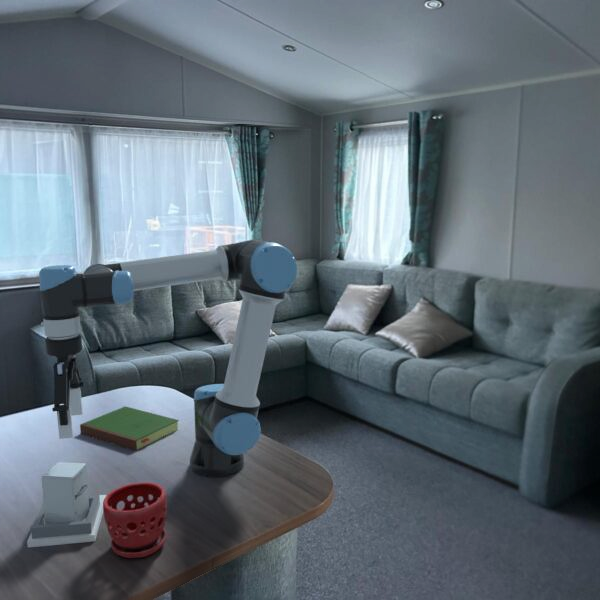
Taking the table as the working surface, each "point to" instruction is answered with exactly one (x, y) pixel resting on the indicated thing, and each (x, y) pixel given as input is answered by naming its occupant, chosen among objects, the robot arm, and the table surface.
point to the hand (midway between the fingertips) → (71, 425)
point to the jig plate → (68, 527)
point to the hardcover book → (129, 427)
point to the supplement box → (65, 493)
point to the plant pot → (136, 519)
